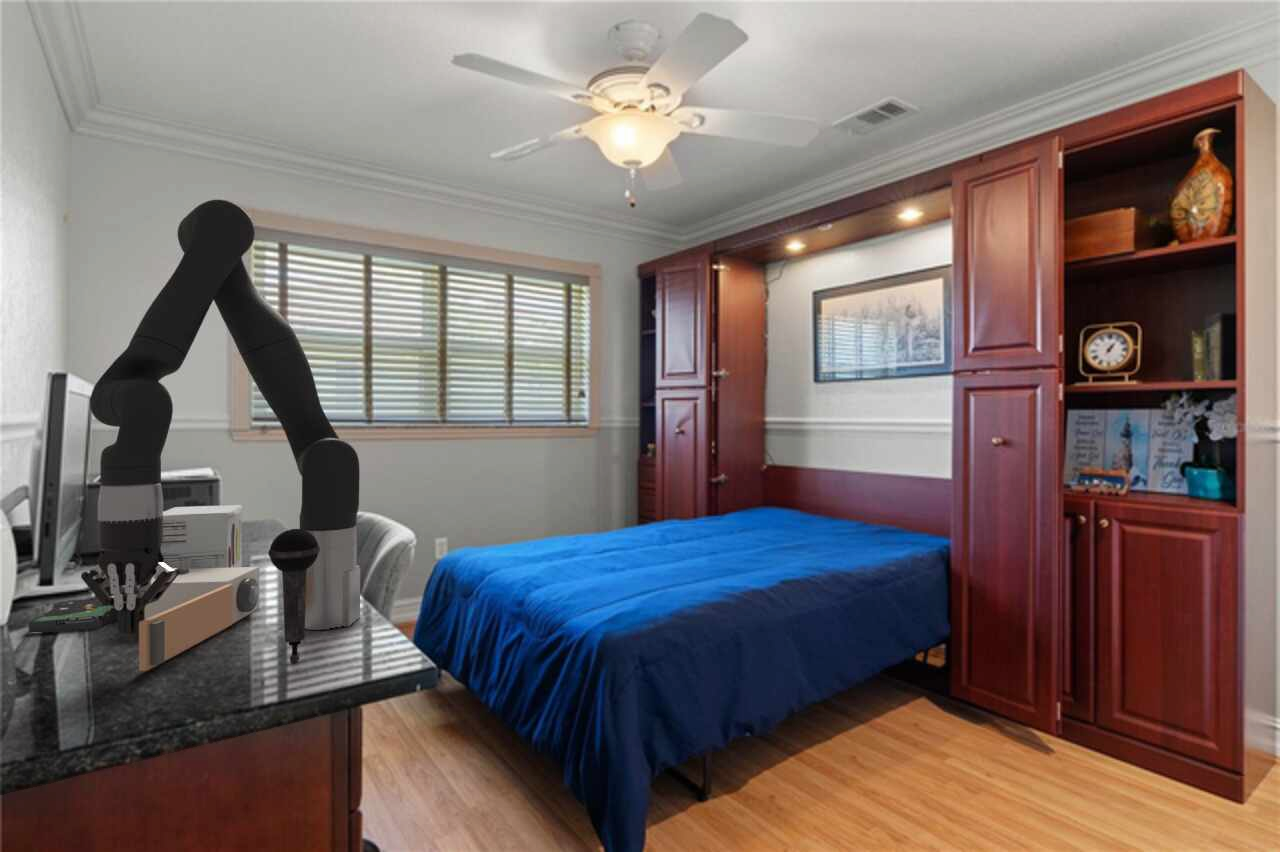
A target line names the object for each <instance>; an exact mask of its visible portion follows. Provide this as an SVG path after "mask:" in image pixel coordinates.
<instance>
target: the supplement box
mask: <svg viewBox="0 0 1280 852" xmlns="http://www.w3.org/2000/svg"><path fill="white" fill-rule="evenodd" d="M242 512H243V505H242V504H229V505H196V506H195V505H193V506H175V507H174V506H173V507H171V508H169V509H166V510H165V511H164V510H163V543H162V545H161V553H162V555H163V557H164V563H165V564H166V565H168V566H169V567H170V568H189V569H196V568H235V567H243V566H242V565H243V563H242V562H243V561H242V558H243V557H242V555H243V553H242V551H243V550H242V549H243V548H242V545H243V543H242V540H243V538H242V537H243V535H242V534H243V533H242V532H243V531H242V529H243V528H242V527H243V526H242V525H243V524H242V521H243V518H242V517H243V516H242V515H243V513H242ZM155 574H156V573H155Z"/></svg>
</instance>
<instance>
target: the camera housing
mask: <svg viewBox="0 0 1280 852" xmlns="http://www.w3.org/2000/svg"><path fill="white" fill-rule="evenodd" d="M178 569H179V570H180V573H179V575H178V576H177V577H176V578H175V580H174V581H173V582H172V583H171V585H170V586H169V587H168V588H167V590H166V591H165V592H164V593H163V595H162V596H161V597H160V598H159V600H158V601H155V602H152V603H150V604H147V605H146V606H145V618H144V619H147V618H149V617H152V616H154V615H157V614H159V613H161V612H164V611H166V610H168V609H171V608H173V607H175V606H178V605H180V604H182V603H185V602H187V601H190V600H192V599H194V598H197V597H199V596H201V595H204V594H206V593H208V592H211V591H213V590H215V589H218V588H220V587H223V586H225V585H233V624H235V623H237V622H238V621H239V620H242V619H244V618H245V617H247V616H249V615H250V614H251V613H254V612H255V611H257V610H258V609H260V566H246V567H244V566H242V567H235V568H196V569H189V568H178ZM154 576H155V575H154ZM154 576H153V577H152V579H151V585H152V584H153V582H154V581H155V580H156V579H154Z"/></svg>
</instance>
